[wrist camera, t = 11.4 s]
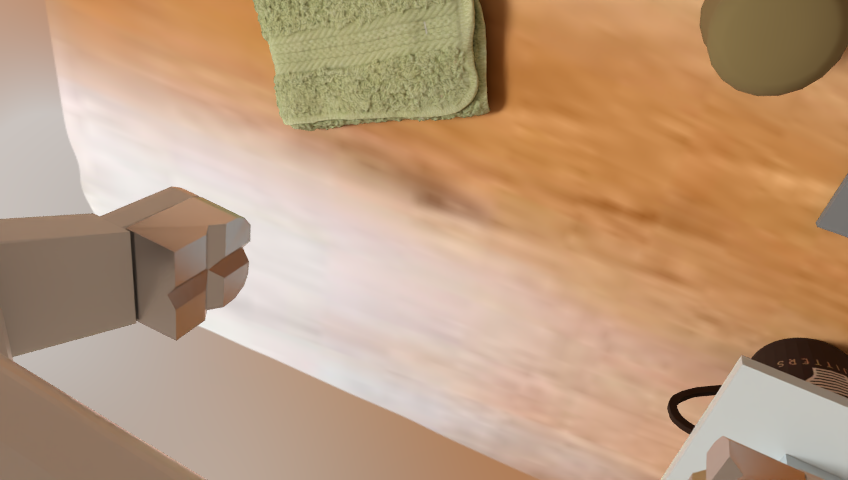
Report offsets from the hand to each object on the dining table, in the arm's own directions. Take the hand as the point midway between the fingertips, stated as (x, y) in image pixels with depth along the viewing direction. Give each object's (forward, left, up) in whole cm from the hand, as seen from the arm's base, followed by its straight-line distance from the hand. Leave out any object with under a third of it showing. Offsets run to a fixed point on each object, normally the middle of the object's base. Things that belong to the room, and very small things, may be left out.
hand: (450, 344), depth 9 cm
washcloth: (+18, +3, -32) cm, 37 cm away
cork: (-5, -4, -31) cm, 32 cm away
